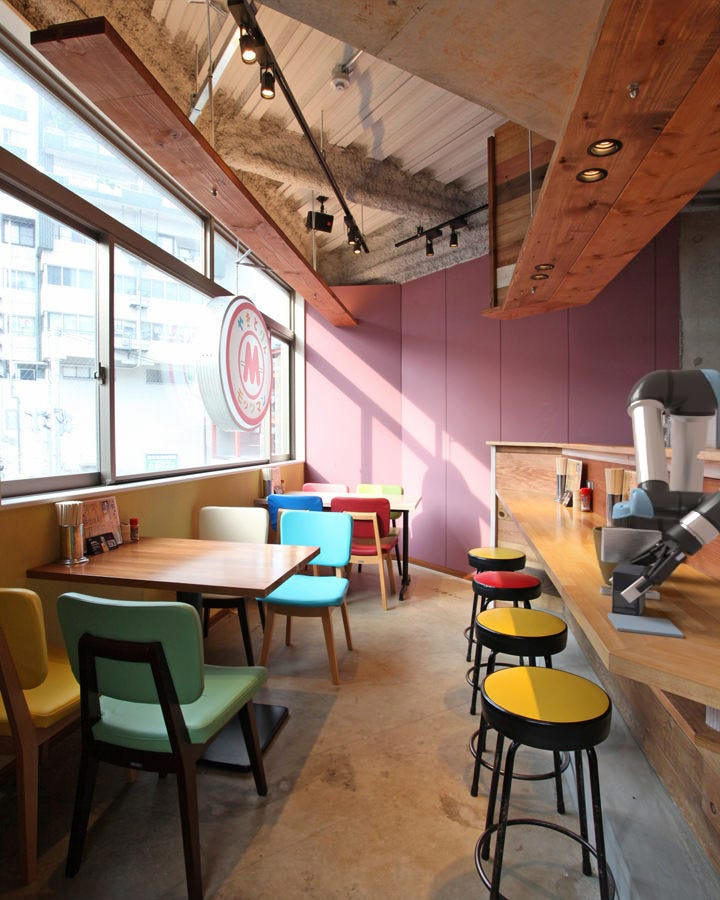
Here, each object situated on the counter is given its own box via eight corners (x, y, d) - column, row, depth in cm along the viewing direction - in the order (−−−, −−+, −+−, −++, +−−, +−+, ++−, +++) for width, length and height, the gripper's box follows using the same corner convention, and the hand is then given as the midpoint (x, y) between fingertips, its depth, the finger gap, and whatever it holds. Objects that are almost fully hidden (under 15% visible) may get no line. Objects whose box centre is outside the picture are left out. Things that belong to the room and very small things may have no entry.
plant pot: (588, 586, 144) (590, 531, 144) (593, 575, 157) (595, 524, 157) (648, 595, 137) (650, 537, 136) (648, 582, 149) (650, 529, 149)
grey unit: (599, 590, 140) (601, 526, 140) (655, 595, 136) (657, 530, 136) (602, 594, 137) (604, 528, 136) (659, 599, 133) (661, 532, 133)
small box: (617, 601, 130) (618, 561, 130) (646, 607, 126) (647, 566, 126) (610, 612, 122) (611, 569, 121) (640, 618, 118) (641, 574, 118)
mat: (607, 615, 119) (607, 613, 119) (668, 621, 116) (668, 619, 116) (617, 630, 110) (617, 627, 110) (684, 637, 106) (684, 635, 106)
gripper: (725, 556, 108) (644, 618, 112) (684, 537, 131) (618, 589, 135) (698, 530, 109) (619, 593, 113) (662, 516, 132) (597, 568, 137)
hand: (618, 591), depth 124 cm, fingers closed on small box, 12 cm apart
